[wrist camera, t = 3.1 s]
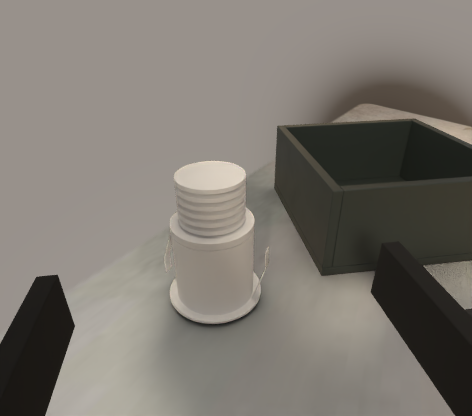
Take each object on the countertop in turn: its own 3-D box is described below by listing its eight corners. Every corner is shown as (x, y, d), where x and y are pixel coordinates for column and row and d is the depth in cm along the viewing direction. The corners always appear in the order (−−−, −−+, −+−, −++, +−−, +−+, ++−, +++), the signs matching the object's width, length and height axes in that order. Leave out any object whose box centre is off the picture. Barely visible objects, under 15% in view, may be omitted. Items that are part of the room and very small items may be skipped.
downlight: (275, 273, 29) (282, 161, 24) (253, 339, 24) (256, 208, 19) (187, 256, 31) (177, 150, 27) (147, 312, 26) (125, 189, 21)
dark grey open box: (321, 276, 29) (333, 191, 25) (274, 188, 43) (277, 125, 39) (503, 256, 31) (539, 175, 27) (400, 178, 45) (414, 118, 41)
